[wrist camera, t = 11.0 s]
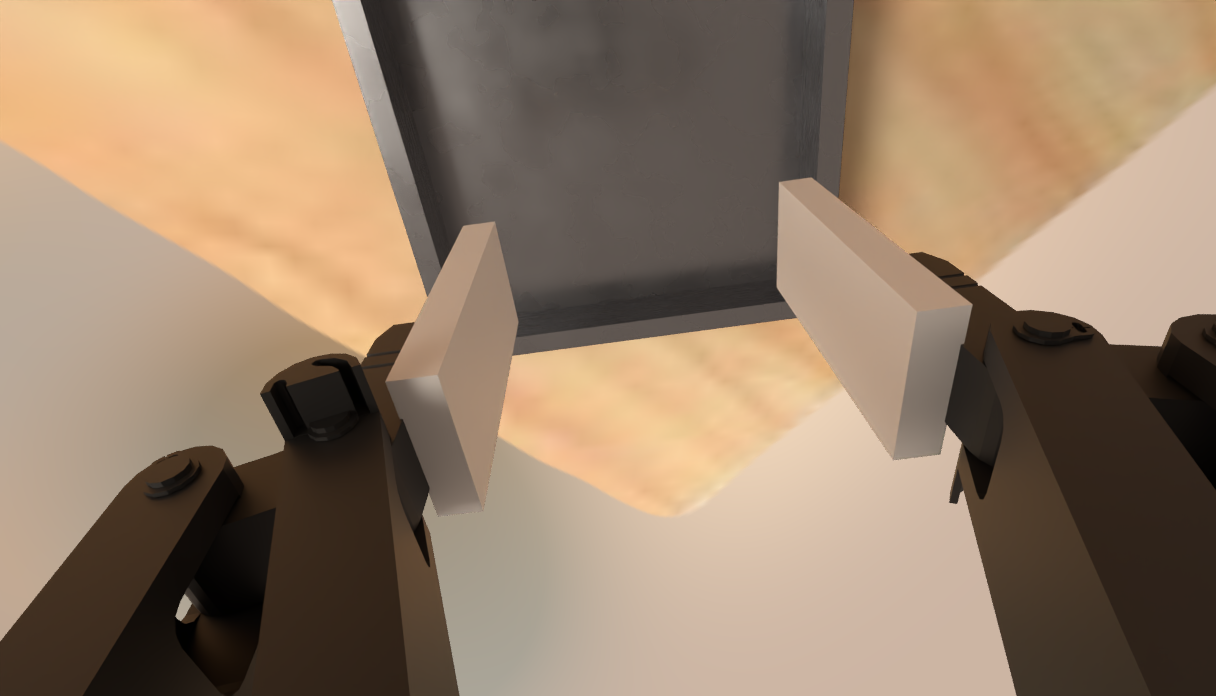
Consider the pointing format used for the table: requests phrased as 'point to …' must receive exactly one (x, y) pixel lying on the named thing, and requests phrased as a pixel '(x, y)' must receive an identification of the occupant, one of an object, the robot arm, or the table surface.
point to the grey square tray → (606, 147)
